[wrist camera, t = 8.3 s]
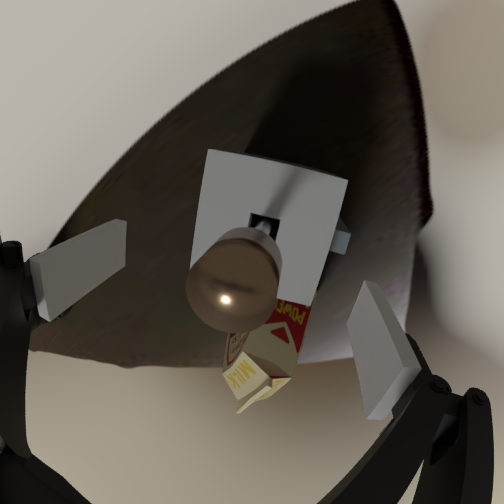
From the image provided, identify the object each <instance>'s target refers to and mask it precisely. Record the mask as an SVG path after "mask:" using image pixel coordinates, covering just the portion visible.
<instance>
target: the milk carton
mask: <svg viewBox="0 0 504 504" xmlns="http://www.w3.org/2000/svg"><path fill="white" fill-rule="evenodd" d="M317 293H318V291H316V292H315V295H314V298H313V300H312V303H311V306H307V305H303V304H299V303H295V302H290V301H286V300H282V299H278V298H276V304H275V308H274V311H273V313H272V315H271V316H270V318H269V319H268V320H267V321H266V322H265V323H264V324H263V325H262V326H260V327H259V328H257V329H255V330H252V331H250V332H245V333H228V337H227V342H226V350H225V357H224V365H223V373H222V374H223V376H224V377H225V379H226V381H227V383H228V385H229V386H230V388H231V390H232V391H233V393H234V395H235V396H236V398H237V400H238V404H237V411H236V413H241V412H242V411H243V410H244V409H245V408H247V407H248V406H249V405H250V404H251V403H253V402H255V401H258V400H262V399H265V398H268V397H270V396H271V395H272V394H273V393H275V392H276V391H277V390H278V389H280V388H281V387H282V386H283V385H284V384H286V383H287V382H288V381H289V380H290V379H291V378H292V376H293V373H294V369H295V366H296V363H297V360H298V357H299V354H300V352H301V350H302V346H303V341H304V337H305V333H306V329H307V326H308V323H309V319H310V316H311V313H312V309H313V306H314V302H315V299H316V296H317Z"/></svg>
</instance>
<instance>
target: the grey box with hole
mask: <svg viewBox="0 0 504 504" xmlns="http://www.w3.org/2000/svg"><path fill="white" fill-rule="evenodd" d="M347 183H348V180H346V179H344V178H341V177H339V176H337V175H334V174H332V173H330V172H327V171H323V170H319V169H315V168H312V167H308V166H304V165H300V164H295V163H291V162H287V161H283V160H278V159H274V158H269V157H264V156H259V155H254V154H249V153H244V152H235V151H226V150H215V149H208V153H207V159H206V164H205V170H204V175H203V181H202V187H201V193H200V200H199V206H198V213H197V219H196V226H195V233H194V241H193V248H192V256H191V264H190V269H191V267H192V266H193V265H194V263H195V262H196V261H197V260H198V259H199V258H200V257H201V256H202V255H203V254H204V253H205V252H206V251H207V250H208V249H209V248H210V247H211V246H212V245H213V244H214V243H215V242H216V241H217V240H218V239H219V238H220V237H221V236H222V235H223V234H224V233H226V232H227V231H229V230H231V229H234V228H238V227H250V225H251V220H252V215H253V213H254V214H258V215H263V216H267V217H271V218H275V219H279V220H281V221H280V225H279V229H278V233H277V237H276V238H273V237H271V238H272V239H273V240H274V241H275V243H276V244H277V245H278V247H279V249H280V252H281V255H282V270H281V276H280V282H279V287H278V293H277V298H278V299H282V300H286V301H290V302H295V303H299V304H303V305H307V306H311V303H312V300H313V298H314V295H315V292H316V289H317V286H318V283H319V280H320V277H321V274H322V270H323V267H324V264H325V261H326V258H327V255H328V251H332V252H336V253H340V254H344V255H345V252H346V249H347V246H348V242H349V239H350V236H351V233H350V231H349V230H348V228H347V227H346V225H345V224H344V222H343V221H342V219H341V218H340V216H339V213H340V210H341V206H342V202H343V199H344V195H345V191H346V187H347Z"/></svg>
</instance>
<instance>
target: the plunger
mask: <svg viewBox="0 0 504 504" xmlns="http://www.w3.org/2000/svg"><path fill="white" fill-rule="evenodd" d="M280 221H281V220H279V219H275V218H271V217H267V216H263V215H258V214H254V213H253V215H252V220H251V225H250V227H238V228H234V229H231V230H229V231H227V232H226V233H224V234H223V235H222V236H221V237H220V238H219V239H218V240H217V241H216V242H215V243H214V244H213V245H212V246H211V247H210V248H209V249H208V250H207V251H206V252H205V253H204V254H203V255H202V256H201V257H200V258H199V259H198V260H197V261H196V262H195V263H194V265H193V266H192V267H191V269H190V271H189V273H188V276H187V279H186V295H187V299H188V301H189V304H190V306H191V308H192V309H193V311H194V312H195V313H196V315H197V316H198V317H199V318H200V319H201V320H202V321H203V322H205V323H206V324H208V325H209V326H211V327H213V328H215V329H217V330H220V331H223V332H227V333H245V332H250V331H252V330H255V329H257V328H259V327H260V326H262V325H263V324H264V323H265V322H266V321H267V320H268V319H269V318H270V316H271V315H272V313H273V311H274V308H275V304H276V298H277V293H278V287H279V282H280V276H281V270H282V255H281V252H280V249H279V247H278V245H277V244H276V243H275V241H274V240H273V239H272V238H271V237H273V238H276V237H277V233H278V229H279V225H280Z"/></svg>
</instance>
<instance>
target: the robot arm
mask: <svg viewBox="0 0 504 504" xmlns="http://www.w3.org/2000/svg"><path fill="white" fill-rule="evenodd" d="M126 223H127V221H123V220H119V219H115V220H112V221H110V222H107V223H105V224H103V225H100V226H98V227H96V228H93V229H91V230H89V231H86V232H84V233H82V234H80V235H77V236H75V237H73V238H71V239H69V240H66V241H64V242H62V243H60V244H58V245H56V246H54V247H52V248H50V249H47V250H45V251H43V252H41V253H37V254H36V255H33V256H32V257H30V258H29V259H28V260H27V261H26V262H24V261H23V253H22V244H21V243H20V242H18V241H6V242H3V243H2V241H1V236H0V504H91V503H90V502H89V501H88V500H87V499H86V498H85V497H83V496H82V495H81V494H80V493H79V492H78V491H77V490H76V489H75V488H74V487H73V486H72V485H71V484H70V483H68V481H66V479H65V478H64V477H63V476H61V475H60V474H58V473H57V472H56V471H54V470H53V469H51V468H50V467H48V466H47V465H46V464H45V463H43V462H42V461H41V460H39V459H38V458H37V457H36V456H34V455H33V454H32V453H31V451H30V449H29V446H28V444H27V438H26V423H25V422H26V421H25V387H26V370H27V358H28V349H29V341H30V333H31V332H32V331H33V330H34V329H36V328H37V327H38V326H39V325H41V324H43V323H47V322H51V321H54V320H58V319H61V318H63V317H64V316H65V315H67V314H68V313H69V312H70V310H71V307H72V305H73V304H74V303H75V302H76V301H78V300H79V299H80V298H82V297H83V296H84V295H86V294H87V293H88V292H90V291H91V290H92V289H94V288H95V287H96V286H98V285H99V284H101V283H102V282H103V281H105V280H106V279H107V278H109V277H110V276H112V275H113V274H114V273H116V272H117V271H119V270H120V269H121V268H123V267H124V266H125V245H126ZM347 329H348V333H349V337H350V341H351V345H352V350H353V354H354V358H355V363H356V368H357V373H358V377H359V382H360V387H361V392H362V398H363V403H364V409H365V415H366V419H373V420H384V419H385V417H386V416H387V415H388V414H389V412H390V411H391V410H392V414H393V419H392V420H391V421H390V423H389V424H388V425H387V426H386V427H385V428H384V429H383V431H382V432H381V433H380V434H379V435H380V436H379V437H378V439H377V440H376V441H375V442H374V444H373V445H372V446H371V447H370V449H369V450H368V451H367V452H366V453H365V454H364V456H363V457H362V458H361V459H360V460H359V461H358V463H357V464H356V465H355V466H354V467H353V468H352V470H350V471H349V473H348V474H347V475H346V476H345V477H344V478H343V479H342V480H341V481H340V482H339V483H338V484H337V485H336V486H335V487H334V488H333V489H332V490H331V491H330V492H329V493H328V494H327V495H326V496H325V497H324V498H323V499H322V500H320V501H319V502H318V503H317V504H397V503H398V502H399V500H400V499H401V497H402V496H403V494H404V493H405V491H406V489H407V488H408V486H409V484H410V483H411V481H412V479H413V478H414V476H415V474H416V473H417V471H418V469H419V467H420V465H421V463H422V461H423V460H424V462H423V466H422V470H421V474H420V478H419V482H418V485H417V489H416V492H415V495H414V498H413V502H412V504H491V501H492V491H493V474H494V441H493V425H492V415H491V405H490V401H489V398H488V397H487V395H486V393H485V392H484V391H482V390H480V389H478V388H474V387H473V388H469V390H467V392H466V393H465V394H464V396H460V395H457V394H454V393H452V390H451V387H450V385H449V384H448V383H447V381H445V380H444V379H443V378H442V377H439V376H437V375H432V373H431V371H430V369H429V367H428V365H427V363H426V361H425V359H424V357H422V356H423V355H422V353H421V351H420V350H419V347H418V345H417V343H416V341H415V340H414V339H413V338H412V337H411V336H410V335H409V334H406V333H404V331H403V329H402V327H401V325H400V324H399V322H398V320H397V318H396V316H395V314H394V312H393V310H392V309H391V307H390V305H389V303H388V301H387V299H386V298H385V296H384V294H383V292H382V291H381V289H380V287H379V285H378V284H377V283H375V282H371V281H367V280H364V282H363V285H362V287H361V290H360V292H359V295H358V297H357V300H356V302H355V305H354V307H353V310H352V312H351V314H350V317H349V319H348V321H347Z"/></svg>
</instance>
